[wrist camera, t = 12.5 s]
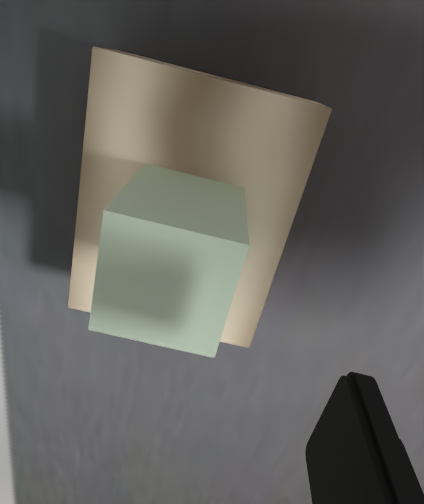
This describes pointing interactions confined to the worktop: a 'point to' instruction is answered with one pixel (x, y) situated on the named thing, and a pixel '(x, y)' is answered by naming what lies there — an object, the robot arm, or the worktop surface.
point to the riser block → (195, 160)
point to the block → (170, 260)
